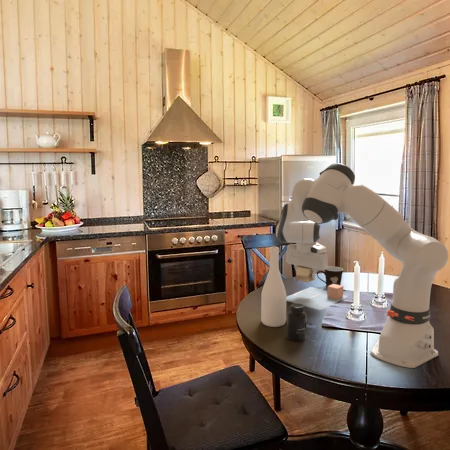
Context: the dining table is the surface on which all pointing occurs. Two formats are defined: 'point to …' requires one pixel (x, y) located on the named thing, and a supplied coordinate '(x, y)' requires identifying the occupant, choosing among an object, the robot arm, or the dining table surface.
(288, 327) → the supplement bottle
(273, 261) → the wine bottle
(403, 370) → the dining table surface
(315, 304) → the white rectangular board
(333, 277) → the coffee mug
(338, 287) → the terracotta cube
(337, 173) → the robot arm
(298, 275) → the maple block
